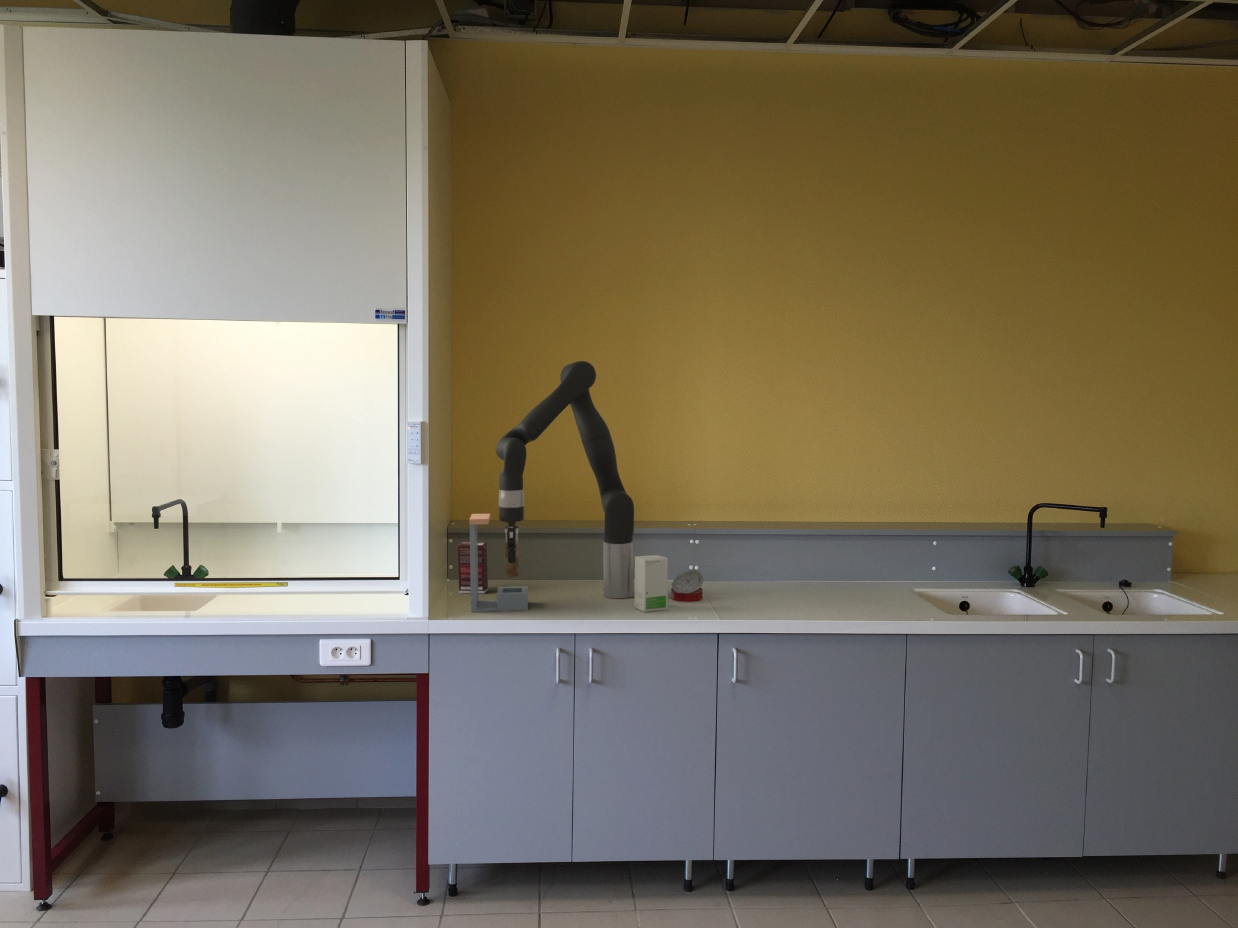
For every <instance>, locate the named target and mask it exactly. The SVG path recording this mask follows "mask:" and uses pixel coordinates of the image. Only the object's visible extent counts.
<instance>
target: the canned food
mask: <svg viewBox="0 0 1238 928" xmlns="http://www.w3.org/2000/svg"><path fill="white" fill-rule="evenodd" d="M703 584H704V577H703V575H702V573H701V572H700V571H698V570H696V569H691V570H688V571H685V572H682V573H680V574H679V575H677V576H676V577H675V578H674V579H673V580H672V583H671V589H670V593H671V596H670V598H671V600H673V601H675V602H680V603H695V602H696V603H697V602H700V601H702V600H703V589H704V588H702V587H703Z"/></svg>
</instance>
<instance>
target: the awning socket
mask: <svg viewBox="0 0 1238 928" xmlns="http://www.w3.org/2000/svg"><path fill="white" fill-rule="evenodd" d="M490 521H491V513H471V515H470V517H469V522H468V523H469V543H470V577H471V593H470V612H471V613H481V612H483V613H484V612H485V613H486V612H498V611H499V612H501V611H502V612H503V611H528V610H529V609H528V607H529V605H528V604H529V603H528V602H529V600H528V598H529V596H528V595H529V594H528V592H529V591H528V590H529V589H528V586H527V585H525V586H497V590H496V600H495V599H494V600H491V599H489V600H485V599H484V600H479V593H478V551H477V543H478V525H489V524H490Z"/></svg>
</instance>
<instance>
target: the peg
mask: <svg viewBox="0 0 1238 928" xmlns="http://www.w3.org/2000/svg"><path fill="white" fill-rule="evenodd" d="M517 539H518V541H517V543H516V562H515V563H508V550H507V543H506V534H505V535H504V576H505V577H507V578H510V577H511V578H513V577H518V576H519V574H520V571H519V569H520V567H519V566H520V565H519V534H518V535H517ZM509 546H514V543H509Z"/></svg>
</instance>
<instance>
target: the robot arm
mask: <svg viewBox="0 0 1238 928" xmlns="http://www.w3.org/2000/svg"><path fill="white" fill-rule="evenodd" d="M559 376H560V377H559V379H560V384H559V385H558V386H557V387H556V388H555V389H554V390H553V391H552V392H551V393H550V394H549V395H548V396H546V397H545V398H544V399H543V400H542V401H540V402H539V403H538V404H537V405H535V407H533V408H532V409H531V410H530V411H529V412H528V413H527V414H526V415H525V416H524V418H523V419H521V421H520V422H519V423H518V424H517V425H516V426H514V427H513V428H512V429H510V430H509V431H508V432H506V433H505V434H504V435H503V436H502V437H501V438H500V439H499V440H498V441H497V443H496V446H495V454H496V456H497V457H498V459H500V460H503V468H502V469H503V470H501V471H500V473H499V477H498V478H499V480H498V482H499V483H498V484H499V485H498V486H499V487H498V488H499V489H498V491H499V493H498V520H499V521H500V522H503V523H505V522H506V523H507V525H505V527H504V534H505V535H506V543H507V550H508V563H515V562H516V543H517V541H518V542H519V538H518V539H517V535H518V536H519V525H517V522H522V521H524V520H525V495H524V472H525V466H526V462H527V447H526V446H527V445H528V443H531V442H534V441H536V440H537V439H538V438H539V437H540V436H541V435H542V434H543V433H544V432H545V431H546V429H548V427H549V426H550V425H551V424H553V422H554V421H555V420H556V419H557V417H558V416H559V415H560V414H561V413H562V412H563V411H565V409H566V408H567V407H568V406H569V405H570V408H571V411H572V413H573V417H574V421H575V423H576V427H577V430H578V433H579V436H580V441H581V443H582V447H583V449H584V452H585V457H587V461H588V463H589V465H590V468H591V470H592V472H593V474H594V476H595V479H596V483H597V487H598V491H599V495H600V500H601V505H602V510H603V512H604V528H603V529H604V531H603V537H602V538H603V539H602V540H603V544H602V545H603V547H602V549H603V550H602V551H603V554H602V555H603V565H602V566H603V568H602V569H603V589H602V590H603V596H604V597H606V598H611V599H626V598H632V597H634V598H635V566H633V563H634V562H633V559H634V558H633V551H634V549H633V545H634V544H633V540H634V539H633V536H634V531H635V505H634V501H633V499H632V497H631V496H630V495H629V494H628V493H627V491H626V489H625V487H624V485H623V482H622V479H621V477H620V474H619V471H618V464H617V455H616V450H615V446H614V442H613V438H612V435H611V431H610V429H609V426H608V425H607V423H606V422H605V420H604V419H603V417H602V416H601V414H600V412H599V411H598V409H597V408H596V406H595V404H594V403H593V399H592V396H591V394H590V393H591V392H590V388H591V387H593V385H594V384H595V382H596V379H597V372H596V369H595V367H594V365H593V364H591V363H590V362H588V361H584V360H578V361H574V362H570V363H569V364H567V365H565V366H564V367H563V368H562V369H561V371H560V375H559ZM509 543H514V546H509Z"/></svg>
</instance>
